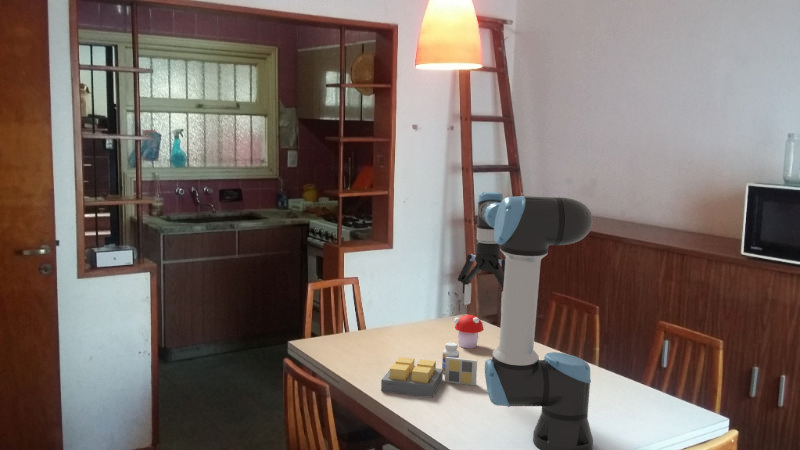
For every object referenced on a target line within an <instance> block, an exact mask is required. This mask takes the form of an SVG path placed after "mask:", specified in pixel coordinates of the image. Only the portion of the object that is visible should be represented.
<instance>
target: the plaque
mask: <svg viewBox="0 0 800 450" xmlns="http://www.w3.org/2000/svg"><path fill="white" fill-rule="evenodd" d="M477 371H478V359H470V358H461V357H459V358H453V357H446V360H445V374H444V383H451V384H452V383H453V384H460V385H467V386H468V385H469V386H476V385H477V376H478V375H477Z"/></svg>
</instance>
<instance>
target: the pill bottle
mask: <svg viewBox="0 0 800 450" xmlns="http://www.w3.org/2000/svg"><path fill="white" fill-rule="evenodd" d="M444 345H445V346H444V349H443V351H442V360H441V361H442V362H441V369H443V374H444V375H445V360H446V357H453V358H460V352H459V350H458V344H457V343H455V342H446V343H445V344H444Z"/></svg>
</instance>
